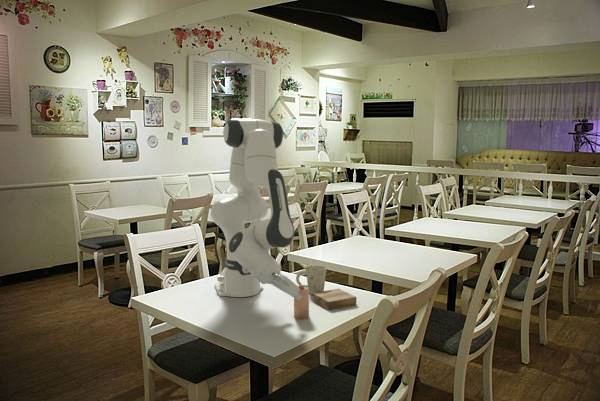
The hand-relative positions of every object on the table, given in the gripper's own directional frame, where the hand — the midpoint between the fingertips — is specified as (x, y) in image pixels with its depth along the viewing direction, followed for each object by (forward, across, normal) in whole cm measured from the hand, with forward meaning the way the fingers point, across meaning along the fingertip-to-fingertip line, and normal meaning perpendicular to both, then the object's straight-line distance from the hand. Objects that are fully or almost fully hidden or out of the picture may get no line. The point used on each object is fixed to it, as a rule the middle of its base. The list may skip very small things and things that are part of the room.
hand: (293, 294), depth 173 cm
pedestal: (+21, +7, -9) cm, 24 cm away
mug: (+20, +23, -8) cm, 32 cm away
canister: (+8, 0, +4) cm, 9 cm away
